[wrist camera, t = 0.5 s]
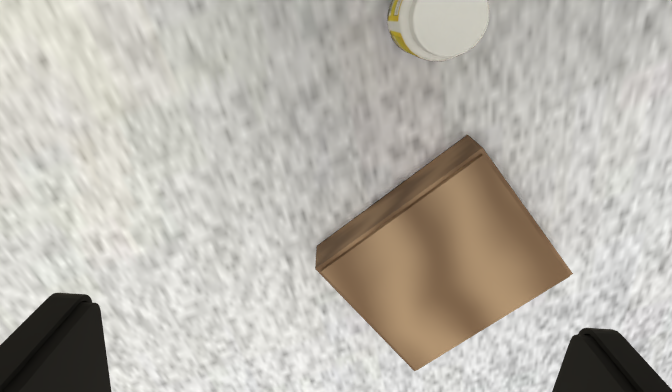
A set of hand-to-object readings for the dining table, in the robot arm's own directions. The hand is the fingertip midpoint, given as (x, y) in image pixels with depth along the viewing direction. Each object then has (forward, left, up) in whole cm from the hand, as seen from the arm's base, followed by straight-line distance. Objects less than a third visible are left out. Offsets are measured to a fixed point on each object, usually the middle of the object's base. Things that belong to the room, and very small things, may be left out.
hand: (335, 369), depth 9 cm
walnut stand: (+1, +14, -26) cm, 30 cm away
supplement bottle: (-9, -1, -26) cm, 28 cm away
